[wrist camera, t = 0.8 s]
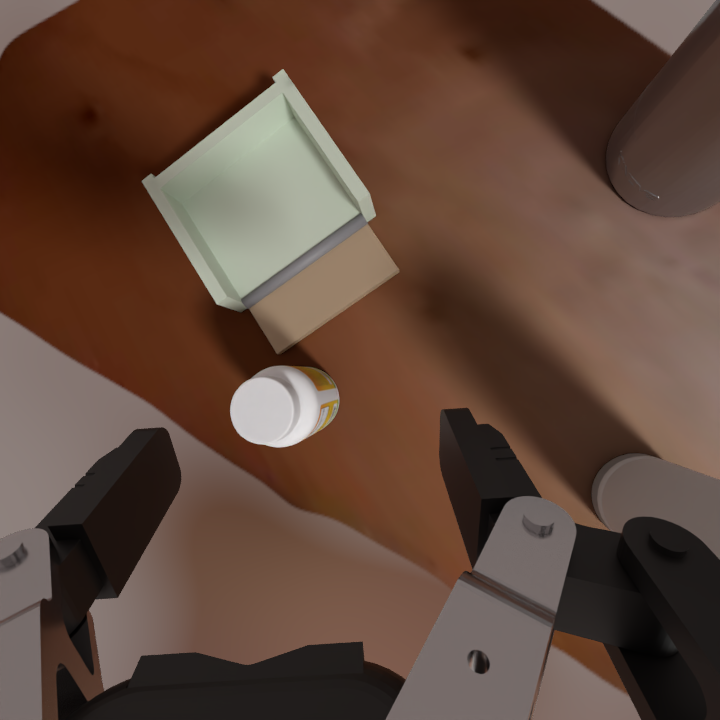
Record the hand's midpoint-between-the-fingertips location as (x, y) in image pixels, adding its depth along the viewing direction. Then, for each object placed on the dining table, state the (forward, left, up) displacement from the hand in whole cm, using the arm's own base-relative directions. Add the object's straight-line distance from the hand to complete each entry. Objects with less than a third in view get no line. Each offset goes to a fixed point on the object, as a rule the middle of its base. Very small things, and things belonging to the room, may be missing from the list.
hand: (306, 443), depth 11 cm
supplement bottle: (+5, -3, -20) cm, 21 cm away
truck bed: (-1, -16, -20) cm, 26 cm away
